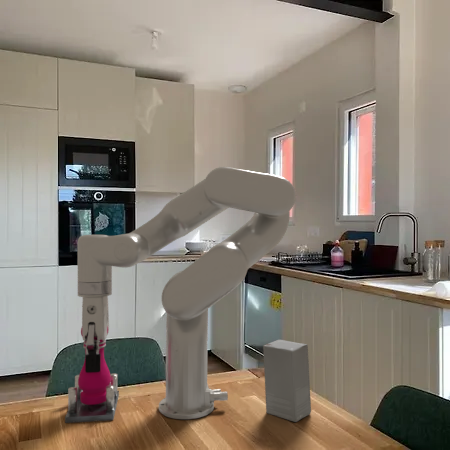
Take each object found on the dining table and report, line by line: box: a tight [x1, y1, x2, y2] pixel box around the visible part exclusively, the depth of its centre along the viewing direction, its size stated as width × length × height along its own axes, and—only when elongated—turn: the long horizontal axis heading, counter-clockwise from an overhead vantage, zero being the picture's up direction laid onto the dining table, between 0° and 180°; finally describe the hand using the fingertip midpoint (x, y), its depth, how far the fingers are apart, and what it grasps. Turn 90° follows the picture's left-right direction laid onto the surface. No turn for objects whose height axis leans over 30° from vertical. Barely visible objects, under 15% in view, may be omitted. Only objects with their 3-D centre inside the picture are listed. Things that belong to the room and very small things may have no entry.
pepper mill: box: [78, 327, 111, 405], centre depth 103 cm, size 7×7×20 cm
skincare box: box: [262, 338, 312, 423], centre depth 101 cm, size 8×7×16 cm
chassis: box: [64, 373, 120, 424], centre depth 103 cm, size 10×14×6 cm
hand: (94, 366), depth 103 cm, fingers closed on pepper mill, 5 cm apart
